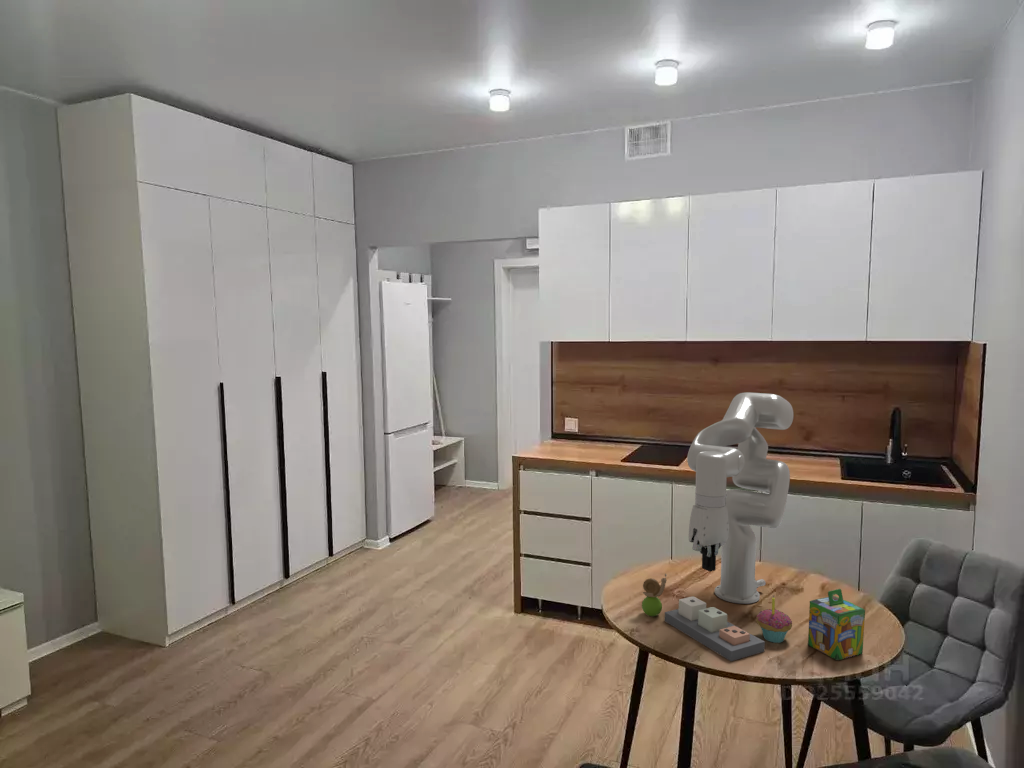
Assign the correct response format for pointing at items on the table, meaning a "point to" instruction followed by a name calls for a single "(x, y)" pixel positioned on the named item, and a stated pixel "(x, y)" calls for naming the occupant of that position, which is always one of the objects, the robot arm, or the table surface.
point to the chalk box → (836, 626)
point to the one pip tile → (691, 607)
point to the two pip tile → (712, 619)
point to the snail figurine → (653, 596)
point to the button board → (714, 637)
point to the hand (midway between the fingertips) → (708, 569)
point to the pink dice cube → (734, 635)
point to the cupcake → (774, 624)
